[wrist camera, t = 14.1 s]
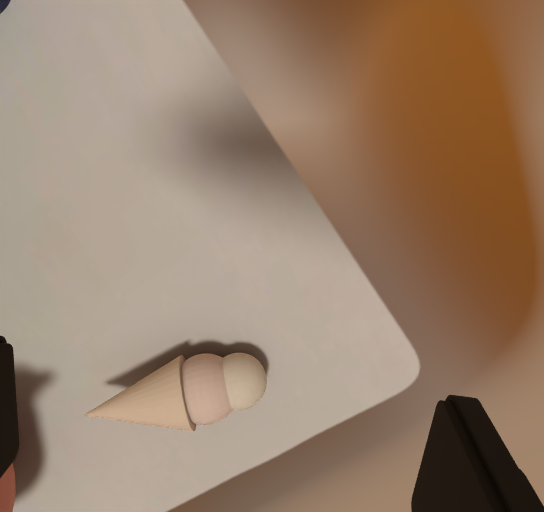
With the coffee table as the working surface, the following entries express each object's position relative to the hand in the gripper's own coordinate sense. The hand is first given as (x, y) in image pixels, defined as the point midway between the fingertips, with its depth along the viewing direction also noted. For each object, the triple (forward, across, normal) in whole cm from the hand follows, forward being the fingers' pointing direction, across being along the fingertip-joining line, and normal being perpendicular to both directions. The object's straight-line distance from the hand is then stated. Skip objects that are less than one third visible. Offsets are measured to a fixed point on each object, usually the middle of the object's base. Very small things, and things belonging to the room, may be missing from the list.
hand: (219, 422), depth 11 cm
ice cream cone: (+28, +6, +18) cm, 34 cm away
